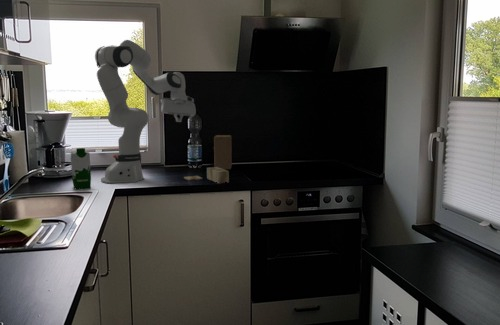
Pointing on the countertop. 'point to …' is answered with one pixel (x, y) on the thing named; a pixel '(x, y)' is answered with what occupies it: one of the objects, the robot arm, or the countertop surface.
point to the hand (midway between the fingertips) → (178, 121)
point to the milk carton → (81, 169)
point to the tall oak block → (217, 175)
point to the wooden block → (223, 151)
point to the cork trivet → (193, 178)
